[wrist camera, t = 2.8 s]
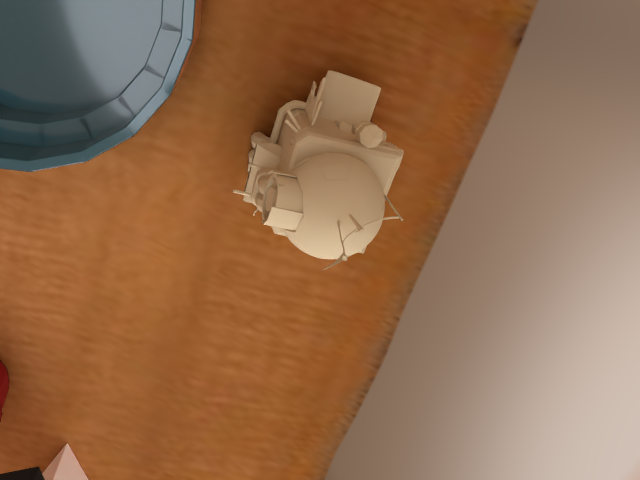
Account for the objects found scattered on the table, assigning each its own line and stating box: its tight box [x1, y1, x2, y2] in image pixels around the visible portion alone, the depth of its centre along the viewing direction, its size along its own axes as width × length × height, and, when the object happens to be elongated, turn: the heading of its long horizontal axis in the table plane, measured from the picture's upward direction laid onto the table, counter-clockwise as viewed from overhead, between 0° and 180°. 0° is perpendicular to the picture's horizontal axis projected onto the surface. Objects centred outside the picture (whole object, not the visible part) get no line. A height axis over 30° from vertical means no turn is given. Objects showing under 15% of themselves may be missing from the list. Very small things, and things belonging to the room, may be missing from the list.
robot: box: [233, 70, 404, 271], centre depth 30 cm, size 10×8×15 cm
